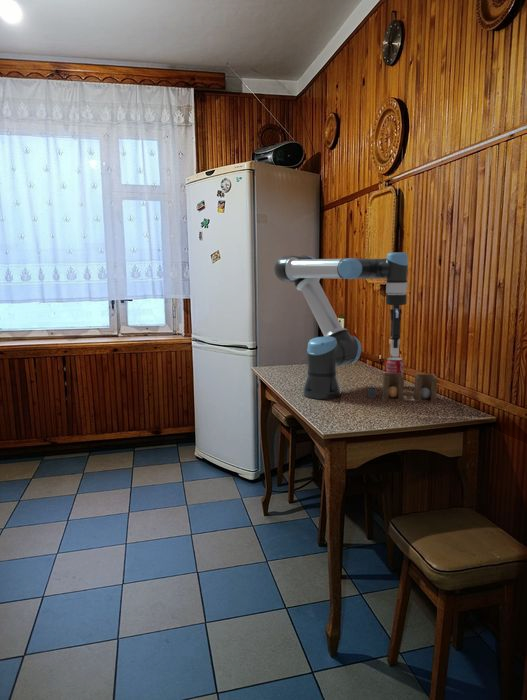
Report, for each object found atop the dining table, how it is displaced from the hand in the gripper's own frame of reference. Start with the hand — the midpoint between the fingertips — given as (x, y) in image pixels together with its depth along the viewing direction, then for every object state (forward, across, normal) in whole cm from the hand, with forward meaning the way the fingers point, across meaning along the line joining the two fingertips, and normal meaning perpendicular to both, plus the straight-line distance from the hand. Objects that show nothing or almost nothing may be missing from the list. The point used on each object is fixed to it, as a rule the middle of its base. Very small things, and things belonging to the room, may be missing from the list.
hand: (394, 355), depth 180 cm
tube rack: (+18, 0, -6) cm, 19 cm away
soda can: (+18, +20, -2) cm, 27 cm away
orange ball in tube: (+17, 0, 0) cm, 17 cm away
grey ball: (+17, 0, -12) cm, 21 cm away
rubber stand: (+18, 0, +8) cm, 20 cm away
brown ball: (-3, 0, 0) cm, 3 cm away
